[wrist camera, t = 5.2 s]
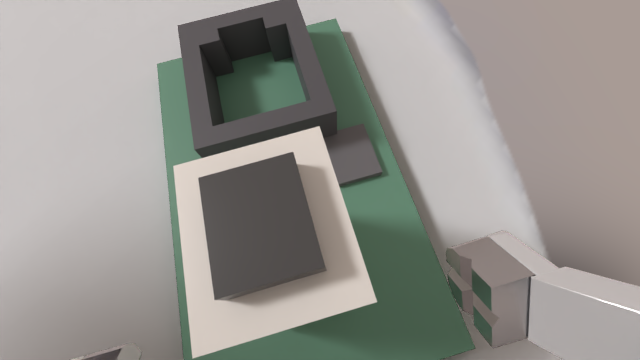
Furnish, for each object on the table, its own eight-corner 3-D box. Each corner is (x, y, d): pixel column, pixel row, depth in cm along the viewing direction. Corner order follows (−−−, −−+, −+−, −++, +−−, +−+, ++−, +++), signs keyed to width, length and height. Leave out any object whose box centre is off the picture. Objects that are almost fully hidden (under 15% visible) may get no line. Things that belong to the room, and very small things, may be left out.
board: (466, 345, 14) (506, 358, 10) (201, 429, 13) (155, 471, 10) (335, 30, 21) (335, -19, 18) (165, 74, 20) (132, 31, 17)
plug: (354, 303, 14) (381, 301, 5) (278, 326, 13) (176, 364, 5) (325, 204, 15) (308, 82, 7) (257, 223, 15) (156, 123, 7)
